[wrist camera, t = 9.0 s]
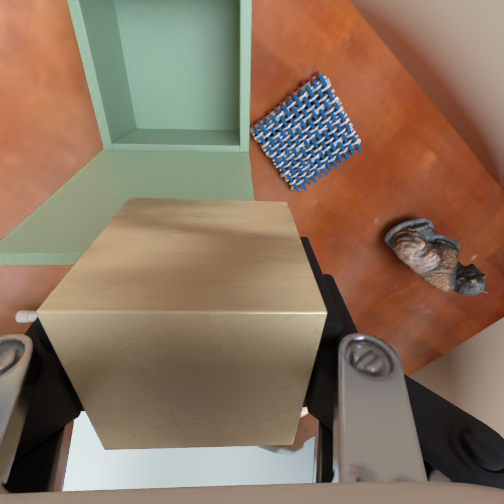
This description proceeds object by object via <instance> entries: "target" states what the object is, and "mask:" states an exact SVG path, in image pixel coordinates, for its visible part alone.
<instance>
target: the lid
mask: <svg viewBox="0 0 504 504" xmlns="http://www.w3.org/2000/svg"><path fill="white" fill-rule="evenodd" d="M129 198H161V199H198V200H235V201H254V195H253V185H252V175H251V165H250V156H249V153H232V152H163V151H101V152H99V153H98V154H97V155H96V156H95V157H94V158H93V159H92V160H91V161H89V162H88V163H87V164H86V165H85V166H84V167H83V168H82V169H80V170H79V171H78V172H77V173H76V174H75V175H74V176H73V177H71V178H70V179H69V180H68V181H67V182H66V183H65V184H64V185H62V186H61V187H60V188H59V189H58V190H57V191H56V192H55V193H54V194H52V195H51V196H50V197H49V198H48V199H47V200H46V201H45V202H43V203H42V204H41V205H40V206H39V207H38V208H37V209H36V210H34V211H33V212H32V213H31V214H30V215H29V216H28V217H27V218H26V219H24V220H23V221H22V222H21V223H20V224H19V225H18V226H17V227H15V228H14V229H13V230H12V231H11V232H10V233H9V234H8V235H6V236H5V237H4V238H3V239H2V240H1V241H0V265H74V264H75V263H76V262H77V261H78V260H79V258H80V257H81V256H82V255H83V254H84V252H85V251H86V250H87V249H88V247H89V246H90V245H91V244H92V243H93V241H94V240H95V239H96V238H97V237H98V235H99V234H100V233H101V232H102V230H103V229H104V228H105V227H106V226H107V224H108V223H109V222H110V221H111V220H112V218H113V217H114V216H115V215H116V213H117V212H118V211H119V210H120V209H121V207H122V206H123V205H124V204H125V203H126V201H127V200H128V199H129Z"/></svg>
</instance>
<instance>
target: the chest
mask: <svg viewBox="0 0 504 504" xmlns="http://www.w3.org/2000/svg"><path fill="white" fill-rule="evenodd" d="M67 3H68V7H69V11H70V16H71V20H72V24H73V28H74V32H75V36H76V40H77V44H78V48H79V52H80V56H81V60H82V64H83V68H84V72H85V76H86V80H87V84H88V88H89V92H90V96H91V100H92V104H93V108H94V112H95V116H96V120H97V124H98V128H99V132H100V136H101V140H102V144H103V148H104V151H163V152H232V153H249V128H250V76H251V23H252V0H67Z"/></svg>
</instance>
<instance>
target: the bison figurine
mask: <svg viewBox="0 0 504 504" xmlns="http://www.w3.org/2000/svg"><path fill="white" fill-rule="evenodd" d="M433 227H434V225H433V224H432V222H431V221H428V220H427V219H424V218H417V219H412V220H409V221H405V222H403V223H401V224H398V225H396V226H394V227H393V228H392V229H390V230H389V232H388V233H387V234H386V236H385V242H386V244H387V245H389V246H390V248H391V249H392V250H393V251H394V252H395V254H396V255H397V257H398V258H399V259H400V260H401V261H402V262H404V263H405V264H407V265H408V266H409V267H410V268H411V270H412V271H413V272H414V273H415V274H416V275H418V276H419V277H421V278H422V279H423V280H424V281H426V282H427V283H428V284H429V285H431V286H433V287H434V288H436V289H439V290H441V291H444V292H447V291H452V290H453V291H455V292H457V293H459V294H461V295H466V296H474V295H476V294H479V293H481V292H483V293H488V292H487V291H485V290H484V288H485V282H484V279H485V277H486V275H485V274H482V273H481V270H480V269H479V268H476V266H474V264H470V265H468V266H463V265H462V264H460V262H458V261H457V259H456V258H457V257H458V256H459V254H460V253H459V248H460V244H459V243H458V242H457V241H455V240H453V239H450V238H448V237H446V236H444V235H441V234H438V233H434V232H432V228H433Z"/></svg>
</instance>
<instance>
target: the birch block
mask: <svg viewBox="0 0 504 504" xmlns="http://www.w3.org/2000/svg"><path fill="white" fill-rule="evenodd" d="M36 314H37V316H38V318H39V320H40V322H41V324H42V326H43V328H44V330H45V332H46V334H47V336H48V338H49V340H50V342H51V344H52V346H53V348H54V350H55V352H56V354H57V356H58V358H59V360H60V362H61V364H62V366H63V368H64V370H65V372H66V374H67V376H68V378H69V380H70V382H71V384H72V386H73V388H74V390H75V392H76V394H77V396H78V398H79V400H80V402H81V404H82V406H83V408H84V410H85V411H86V413H87V415H88V417H89V419H90V421H91V423H92V425H93V427H94V429H95V431H96V433H97V435H98V437H99V439H100V441H101V443H102V445H103V447H104V449H106V450H113V449H148V448H149V449H150V448H187V447H224V446H262V445H292V444H293V442H294V438H295V434H296V430H297V426H298V423H299V419H300V415H301V411H302V408H303V404H304V400H305V396H306V392H307V389H308V385H309V381H310V377H311V373H312V370H313V366H314V362H315V358H316V354H317V351H318V347H319V343H320V339H321V335H322V332H323V328H324V324H325V320H326V317H327V310H326V307H325V304H324V302H323V299H322V296H321V294H320V291H319V288H318V285H317V283H316V280H315V277H314V275H313V272H312V269H311V266H310V264H309V261H308V258H307V256H306V253H305V250H304V247H303V245H302V242H301V239H300V237H299V234H298V231H297V228H296V226H295V223H294V220H293V218H292V215H291V212H290V210H289V207H288V204H287V202H272V201H235V200H198V199H161V198H129V199H128V200H127V201H126V203H125V204H124V205H123V206H122V207H121V209H120V210H119V211H118V212H117V213H116V215H115V216H114V217H113V218H112V220H111V221H110V222H109V223H108V224H107V226H106V227H105V228H104V229H103V230H102V232H101V233H100V234H99V235H98V237H97V238H96V239H95V240H94V241H93V243H92V244H91V245H90V246H89V247H88V249H87V250H86V251H85V252H84V254H83V255H82V256H81V257H80V258H79V260H78V261H77V262H76V263H75V264H74V266H73V267H72V268H71V269H70V271H69V272H68V273H67V274H66V275H65V277H64V278H63V279H62V280H61V282H60V283H59V284H58V285H57V286H56V288H55V289H54V290H53V291H52V292H51V294H50V295H49V296H48V297H47V299H46V300H45V301H44V302H43V303H42V305H41V306H40V307H39V308H38V309H37V311H36Z"/></svg>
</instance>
